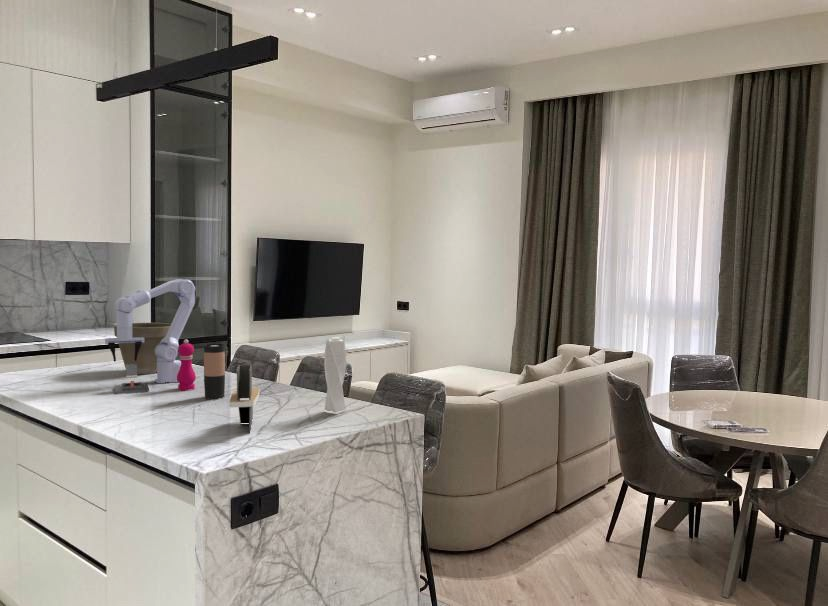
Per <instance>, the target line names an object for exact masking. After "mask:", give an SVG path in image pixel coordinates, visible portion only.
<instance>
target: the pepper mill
mask: <svg viewBox="0 0 828 606" xmlns="http://www.w3.org/2000/svg"><path fill="white" fill-rule="evenodd" d="M194 352H195V348H194V345H192V344H191V343H189V340H188V339H187V338H186V339H184V340H183V343H182V344H180V345H179V347H178V350H177V353H179V360H180V364H181V366H180V370H179V372H178V375H177V381H178V382H177V383H179V384H177V389H178V390H179V389H180V390H179V391H189V390H188V389H192V390H194V389H195V388H196V387H195V386H196V385H195V383H194V382H195V381H197V380H196V379H197V377H196V376H197V375H196V373H195V370H194V368H193V365H192V361H193V360H192V359H193V356H194V355H193V353H194Z"/></svg>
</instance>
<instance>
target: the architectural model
mask: <svg viewBox="0 0 828 606" xmlns="http://www.w3.org/2000/svg"><path fill="white" fill-rule="evenodd" d="M252 373H253V365H252V364H239V365H238V367H237V370H236V390H235V391H233V392H232V393H231V396H230V400H229V403H228V405H229V408H238V414H239V416H238V417H239V423H249V425H248V431H249V430H251V431H252V427H251V425H252V426H253V422H252V419H253V418H254V413H253V412H254V406H255V405H256V403H257V402H258V400H259V397H260V387H253V374H252ZM243 399H244V400H243ZM253 420H254V419H253Z"/></svg>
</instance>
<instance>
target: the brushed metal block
mask: <svg viewBox="0 0 828 606" xmlns="http://www.w3.org/2000/svg"><path fill="white" fill-rule="evenodd" d="M125 373H126V374H125V377H126V379H131V378H132V379H134V378H138V375H139V374H137V363H126V368H125Z"/></svg>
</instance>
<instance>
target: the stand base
mask: <svg viewBox="0 0 828 606" xmlns="http://www.w3.org/2000/svg"><path fill="white" fill-rule="evenodd" d="M146 391H149V392H150V388H149V385H148V383H142V382H141V381H140V382H135V381H134V380H130V382H123V383H121V385H114V392H115V393H114V394H115V395H119V394H118V393H125V394H133V393H132V392H140V393H147V392H146Z"/></svg>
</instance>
